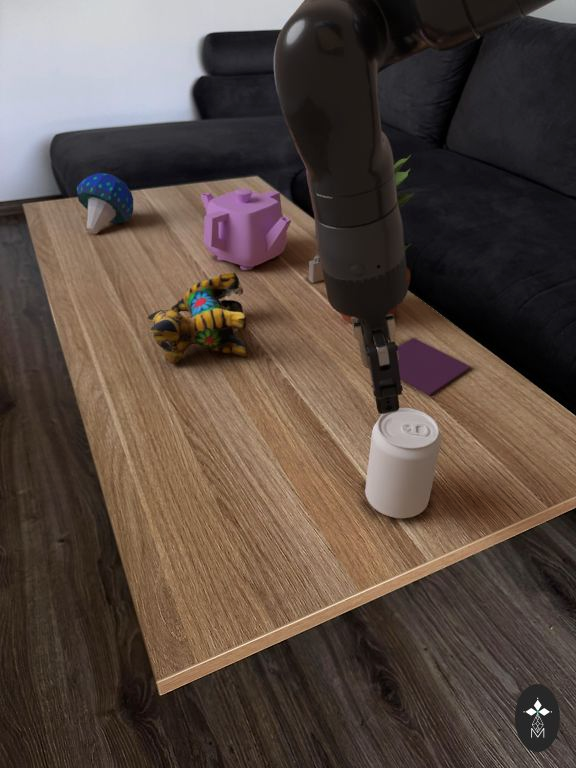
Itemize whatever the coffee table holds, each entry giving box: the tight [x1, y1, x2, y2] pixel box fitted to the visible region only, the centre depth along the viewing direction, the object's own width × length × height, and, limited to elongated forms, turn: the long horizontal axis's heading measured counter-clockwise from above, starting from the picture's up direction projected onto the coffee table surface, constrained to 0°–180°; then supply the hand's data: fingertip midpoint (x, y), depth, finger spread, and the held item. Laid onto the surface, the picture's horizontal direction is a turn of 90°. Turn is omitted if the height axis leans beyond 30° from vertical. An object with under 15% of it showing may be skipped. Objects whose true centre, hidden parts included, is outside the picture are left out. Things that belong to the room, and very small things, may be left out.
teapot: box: [200, 188, 292, 271], centre depth 129 cm, size 19×18×15 cm
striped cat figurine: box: [146, 271, 248, 365], centre depth 103 cm, size 20×12×18 cm
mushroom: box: [76, 172, 134, 235], centre depth 144 cm, size 14×14×15 cm
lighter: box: [308, 254, 324, 284], centre depth 123 cm, size 7×2×8 cm, turn 121°
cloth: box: [397, 337, 471, 397], centre depth 99 cm, size 12×11×1 cm
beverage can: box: [364, 407, 442, 519], centre depth 73 cm, size 8×8×12 cm
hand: (380, 382), depth 63 cm, fingers open, 8 cm apart
